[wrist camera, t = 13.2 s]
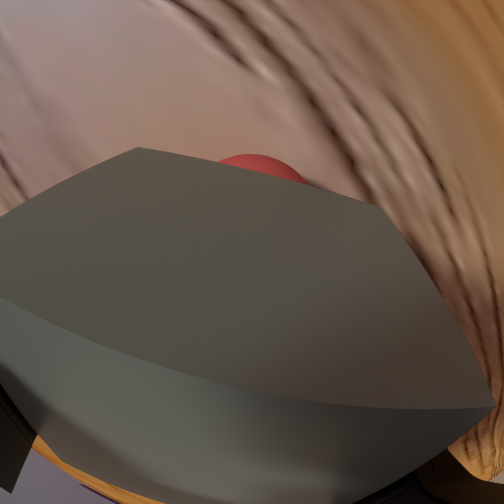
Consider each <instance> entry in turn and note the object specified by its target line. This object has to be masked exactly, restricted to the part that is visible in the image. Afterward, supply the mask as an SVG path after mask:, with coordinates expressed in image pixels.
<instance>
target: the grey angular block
mask: <svg viewBox="0 0 504 504" xmlns="http://www.w3.org/2000/svg"><path fill="white" fill-rule="evenodd" d="M0 383H1V385H2V386H3V388H4V389H5V391H6V392H7V394H8V395H9V397H10V398H11V400H12V401H13V402H14V404H15V405H16V407H17V408H18V409H19V411H20V412H21V413H22V415H23V416H24V417H25V419H26V420H27V421H28V422H29V424H30V425H31V426H32V427H33V429H34V430H35V431H36V432H37V434H38V435H39V436H40V437H41V438H42V439H43V441H44V442H45V443H46V444H47V445H48V446H49V447H50V448H51V450H52V451H53V452H54V453H55V454H56V455H57V456H58V457H59V458H60V459H61V460H62V461H63V462H65V463H67V464H69V465H71V466H73V467H75V468H77V469H79V470H81V471H83V472H85V473H87V474H89V475H91V476H93V477H96V478H98V479H100V480H102V481H105V482H107V483H109V484H112V485H114V486H117V487H119V488H122V489H124V490H127V491H130V492H133V493H135V494H138V495H141V496H144V497H147V498H150V499H153V500H156V501H160V502H163V503H166V504H352V503H354V502H356V501H358V500H360V499H363V498H365V497H367V496H369V495H371V494H373V493H375V492H377V491H378V490H380V489H382V488H384V487H386V486H388V485H390V484H391V483H393V482H395V481H397V480H398V479H400V478H402V477H404V476H405V475H407V474H408V473H410V472H412V471H413V470H415V469H417V468H418V467H420V466H421V465H423V464H424V463H426V462H427V461H429V460H430V459H432V458H433V457H435V456H436V455H437V454H439V453H440V452H442V451H443V450H444V449H446V448H447V447H448V446H450V445H451V444H452V443H454V442H455V441H456V440H458V439H459V438H460V437H461V436H463V435H464V434H465V433H466V432H468V431H469V430H470V429H471V428H472V427H474V426H475V425H476V424H477V423H478V422H479V421H480V420H482V419H483V418H484V417H485V416H486V415H487V414H488V413H489V412H490V411H492V410H493V409H494V408H495V407H496V404H495V401H494V399H493V396H492V394H491V392H490V389H489V387H488V385H487V382H486V380H485V378H484V376H483V373H482V371H481V369H480V367H479V365H478V363H477V361H476V359H475V357H474V354H473V352H472V350H471V348H470V346H469V345H468V343H467V341H466V339H465V337H464V335H463V333H462V331H461V329H460V327H459V326H458V324H457V322H456V320H455V318H454V317H453V315H452V313H451V311H450V310H449V308H448V306H447V304H446V303H445V301H444V299H443V298H442V296H441V294H440V293H439V291H438V289H437V288H436V286H435V284H434V283H433V281H432V280H431V278H430V276H429V275H428V273H427V272H426V270H425V269H424V267H423V266H422V264H421V263H420V261H419V260H418V258H417V257H416V255H415V254H414V252H413V251H412V249H411V248H410V246H409V245H408V244H407V242H406V241H405V239H404V238H403V236H402V235H401V234H400V232H399V231H398V229H397V228H396V227H395V225H394V224H393V223H392V221H391V220H390V219H389V217H388V216H387V215H386V213H385V212H384V211H383V209H382V208H381V207H378V206H375V205H372V204H369V203H365V202H362V201H359V200H356V199H353V198H350V197H347V196H343V195H340V194H337V193H334V192H330V191H327V190H324V189H320V188H317V187H313V186H310V185H306V184H303V183H299V182H295V181H292V180H288V179H284V178H281V177H277V176H273V175H269V174H265V173H261V172H257V171H253V170H249V169H245V168H241V167H236V166H232V165H228V164H223V163H219V162H214V161H209V160H205V159H200V158H195V157H190V156H185V155H180V154H175V153H169V152H164V151H158V150H153V149H147V148H141V147H137V148H134V149H132V150H129V151H127V152H125V153H122V154H120V155H117V156H115V157H113V158H111V159H108V160H106V161H104V162H102V163H99V164H97V165H95V166H93V167H91V168H89V169H86V170H84V171H82V172H80V173H78V174H76V175H74V176H72V177H70V178H68V179H66V180H64V181H62V182H60V183H58V184H57V185H55V186H53V187H51V188H49V189H47V190H45V191H44V192H42V193H40V194H38V195H36V196H35V197H33V198H31V199H29V200H28V201H26V202H24V203H23V204H21V205H19V206H18V207H16V208H14V209H13V210H11V211H9V212H8V213H6V214H5V215H3V216H2V217H0Z"/></svg>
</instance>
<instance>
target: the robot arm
mask: <svg viewBox="0 0 504 504" xmlns="http://www.w3.org/2000/svg"><path fill="white" fill-rule="evenodd" d="M36 436H37V432H36V431H35V430H34V429H33V427H32V426H31V425H30V424H29V422H28V421H27V420H26V419H25V417H24V416H23V415H22V413H21V412H20V411H19V409H18V408H17V407H16V405H15V404H14V402H13V401H12V400H11V398H10V397H9V395H8V394H7V392H6V391H5V389H4V388H3V386H2V385H1V383H0V487H1V488H3V489H4V490H6V491H7V492H9V493H10V494H11V493H12V491H13V489H14V486H15V484H16V481H17V479H18V477H19V474H20V471H21V469H22V467H23V465H24V462H25V460H26V458H27V456H28V454H29V451H30V449H31V447H32V444H33V442H34V440H35V438H36ZM352 504H504V484H499V483H494V482H489V481H484V480H481V479H478V478H476V477H475V476H473V475H472V474H471V473H469V472H468V471H467V470H466V469H465V468H464V467H463V465H462V464H461V463H460V462H459V461H458V460H457V459H456V458H455V457H454V456H453V455H452V454H451V453H450V452H449V451H448V450H447V449H444V450H443V451H442V452H440V453H439V454H437V455H436V456H435V457H433V458H432V459H430V460H429V461H427V462H426V463H424V464H423V465H421V466H420V467H418V468H417V469H415V470H413V471H412V472H410V473H408V474H407V475H405V476H404V477H402V478H400V479H398V480H397V481H395V482H393V483H391V484H390V485H388V486H386V487H384V488H382V489H380V490H378V491H377V492H375V493H373V494H371V495H369V496H367V497H365V498H363V499H360V500H358V501H356V502H354V503H352Z"/></svg>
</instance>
